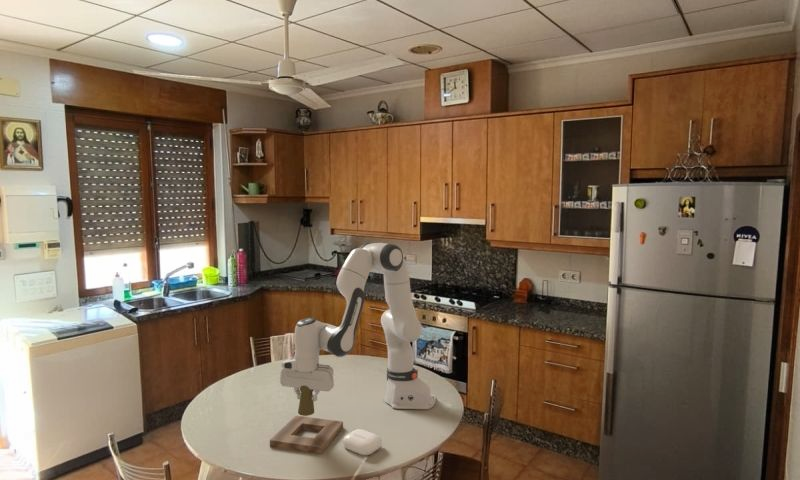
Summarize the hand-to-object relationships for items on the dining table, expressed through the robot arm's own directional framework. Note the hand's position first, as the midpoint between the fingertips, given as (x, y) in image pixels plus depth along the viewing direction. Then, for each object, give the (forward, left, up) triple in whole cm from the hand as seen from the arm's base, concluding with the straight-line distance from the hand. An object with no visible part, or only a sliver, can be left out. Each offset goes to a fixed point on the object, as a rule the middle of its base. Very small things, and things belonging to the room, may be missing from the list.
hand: (307, 399), depth 175 cm
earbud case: (-22, +2, -15) cm, 27 cm away
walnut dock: (0, 0, -15) cm, 15 cm away
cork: (0, 0, -5) cm, 5 cm away
